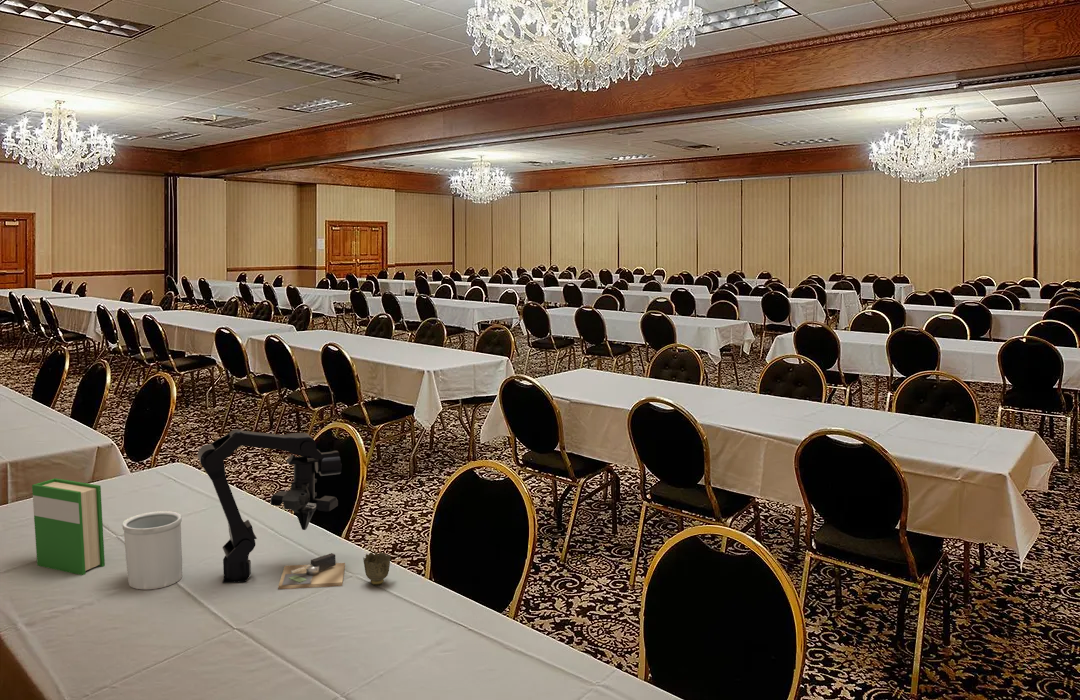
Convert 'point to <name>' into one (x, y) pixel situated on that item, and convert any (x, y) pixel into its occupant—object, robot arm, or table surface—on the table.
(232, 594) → the table surface
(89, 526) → the hardback book
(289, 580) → the tuner board
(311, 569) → the peg knob
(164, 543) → the utensil holder
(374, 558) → the cup
